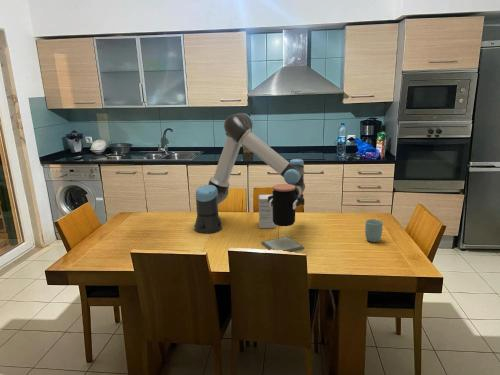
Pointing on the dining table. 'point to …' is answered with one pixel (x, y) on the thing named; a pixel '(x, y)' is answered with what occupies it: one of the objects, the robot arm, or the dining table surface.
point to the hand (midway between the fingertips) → (281, 205)
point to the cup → (373, 230)
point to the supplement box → (265, 213)
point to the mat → (282, 244)
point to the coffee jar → (283, 204)
